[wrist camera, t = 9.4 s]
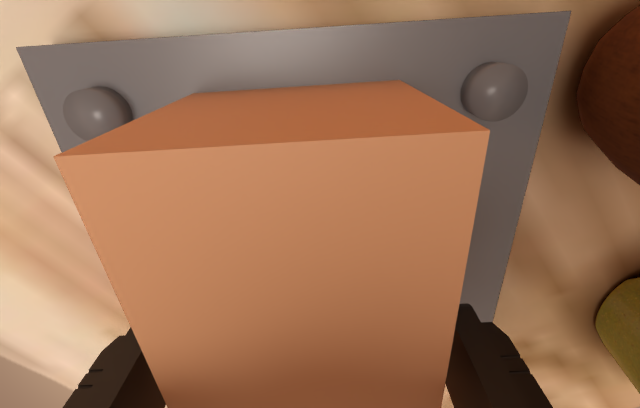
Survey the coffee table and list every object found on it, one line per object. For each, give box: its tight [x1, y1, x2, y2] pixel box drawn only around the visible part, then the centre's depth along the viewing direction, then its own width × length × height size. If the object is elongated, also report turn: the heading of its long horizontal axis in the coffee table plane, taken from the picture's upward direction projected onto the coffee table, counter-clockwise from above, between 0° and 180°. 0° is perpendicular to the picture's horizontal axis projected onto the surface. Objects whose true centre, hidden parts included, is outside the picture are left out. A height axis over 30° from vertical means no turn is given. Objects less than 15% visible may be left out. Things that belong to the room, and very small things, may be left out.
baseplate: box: [16, 11, 571, 322], centre depth 13 cm, size 16×16×2 cm
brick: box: [54, 80, 490, 408], centre depth 10 cm, size 6×13×6 cm, turn 3°
